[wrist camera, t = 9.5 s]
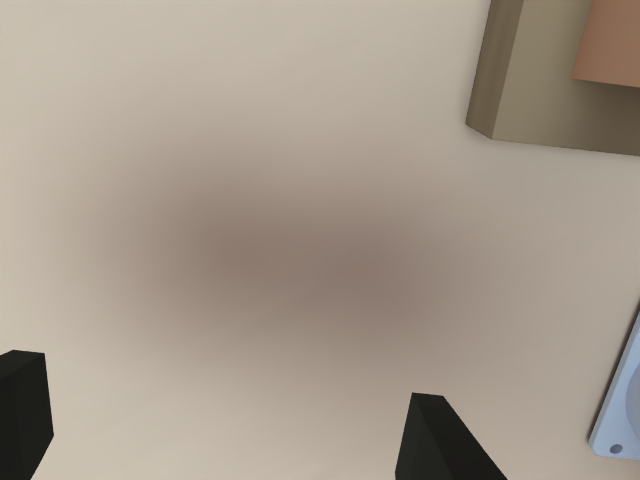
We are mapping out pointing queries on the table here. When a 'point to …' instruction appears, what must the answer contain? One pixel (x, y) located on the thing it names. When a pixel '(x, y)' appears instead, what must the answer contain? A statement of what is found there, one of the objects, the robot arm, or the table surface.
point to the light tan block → (610, 44)
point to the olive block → (547, 83)
